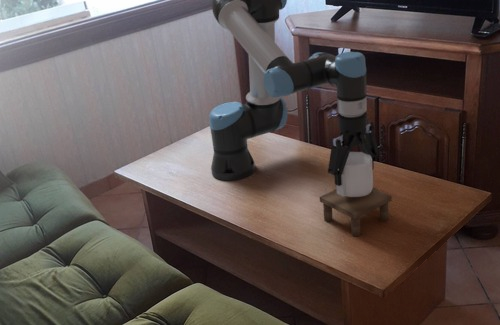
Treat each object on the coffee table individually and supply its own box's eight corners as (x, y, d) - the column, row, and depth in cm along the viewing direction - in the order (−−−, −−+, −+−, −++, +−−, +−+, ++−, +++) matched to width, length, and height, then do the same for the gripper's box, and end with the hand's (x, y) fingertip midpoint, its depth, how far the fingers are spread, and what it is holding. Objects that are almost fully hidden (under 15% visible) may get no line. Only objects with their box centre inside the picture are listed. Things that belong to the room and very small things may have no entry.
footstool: (320, 219, 171) (319, 196, 168) (355, 202, 178) (355, 180, 175) (356, 238, 160) (355, 214, 157) (391, 219, 167) (391, 195, 164)
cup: (380, 192, 163) (379, 159, 158) (348, 202, 159) (347, 169, 155) (360, 178, 171) (360, 147, 166) (330, 188, 167) (328, 157, 163)
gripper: (330, 128, 147) (334, 207, 156) (392, 103, 158) (393, 178, 167) (310, 121, 153) (315, 197, 162) (371, 97, 164) (373, 170, 173)
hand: (354, 187), depth 165 cm, fingers closed on cup, 10 cm apart
